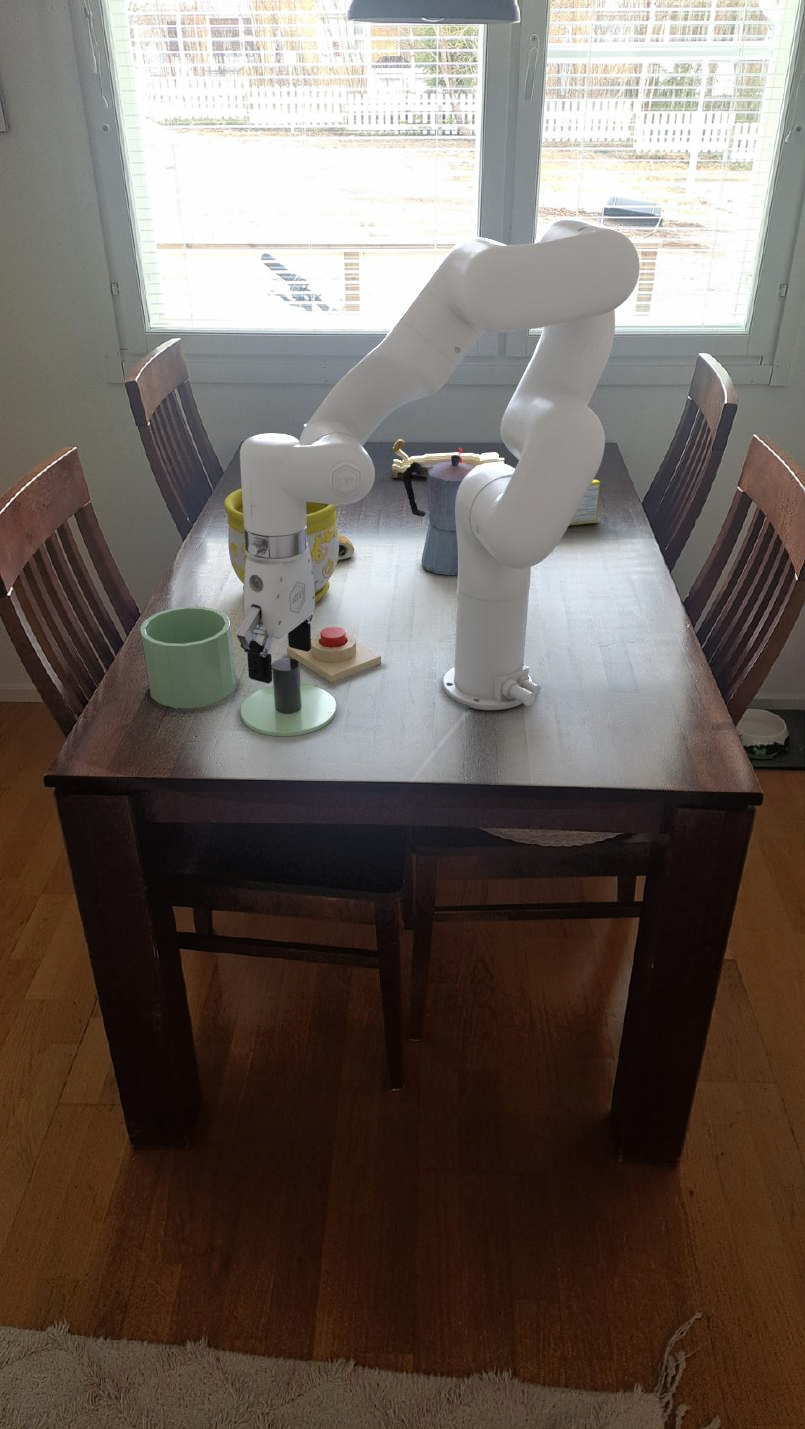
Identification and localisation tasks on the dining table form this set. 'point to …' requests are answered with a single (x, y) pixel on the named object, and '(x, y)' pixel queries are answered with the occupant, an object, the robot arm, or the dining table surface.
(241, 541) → the flowerpot
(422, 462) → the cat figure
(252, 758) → the dining table surface
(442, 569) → the moka pot
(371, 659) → the switch block
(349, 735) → the dining table surface
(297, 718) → the lid
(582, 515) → the candy box
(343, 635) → the button
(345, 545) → the pastry
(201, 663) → the mint green cup
